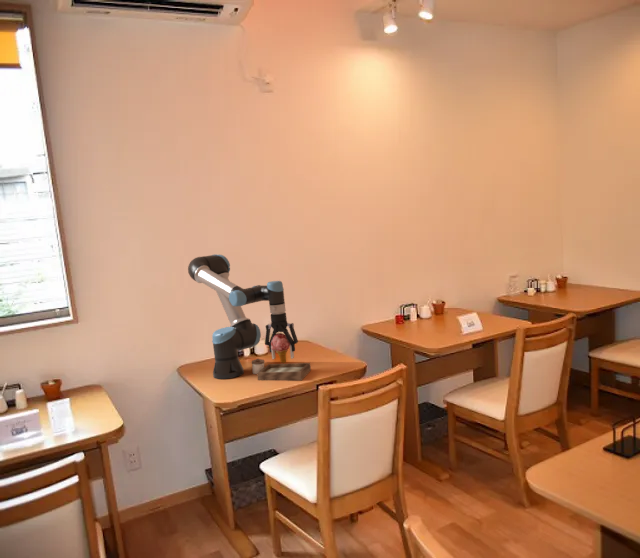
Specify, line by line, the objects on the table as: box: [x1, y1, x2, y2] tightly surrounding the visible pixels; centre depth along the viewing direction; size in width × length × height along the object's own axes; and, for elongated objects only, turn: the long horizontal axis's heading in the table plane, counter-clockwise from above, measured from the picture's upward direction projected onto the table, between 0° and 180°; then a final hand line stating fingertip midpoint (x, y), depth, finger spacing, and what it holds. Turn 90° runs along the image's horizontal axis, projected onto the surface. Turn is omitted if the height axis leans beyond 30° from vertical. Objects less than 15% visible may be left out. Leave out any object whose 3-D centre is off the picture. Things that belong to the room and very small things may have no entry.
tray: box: [256, 362, 312, 382], centre depth 275 cm, size 22×16×4 cm
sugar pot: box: [251, 358, 265, 375], centre depth 282 cm, size 6×6×8 cm
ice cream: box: [271, 332, 291, 364], centre depth 273 cm, size 11×10×15 cm
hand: (283, 358), depth 274 cm, fingers closed on ice cream, 9 cm apart
